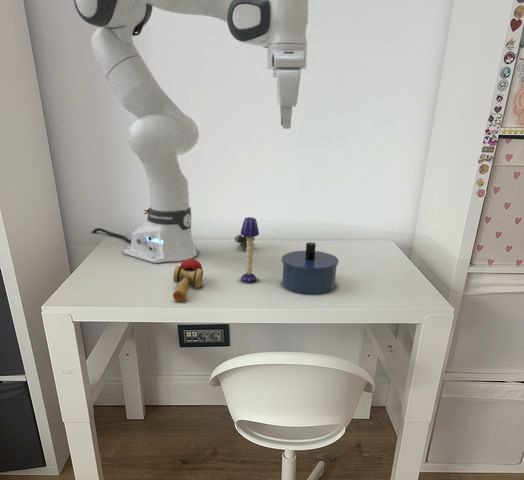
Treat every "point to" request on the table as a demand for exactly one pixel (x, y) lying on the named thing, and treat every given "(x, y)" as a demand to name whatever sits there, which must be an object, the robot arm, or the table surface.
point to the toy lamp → (249, 247)
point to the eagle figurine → (242, 241)
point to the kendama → (187, 277)
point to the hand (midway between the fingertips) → (285, 127)
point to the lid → (310, 259)
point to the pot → (308, 280)
